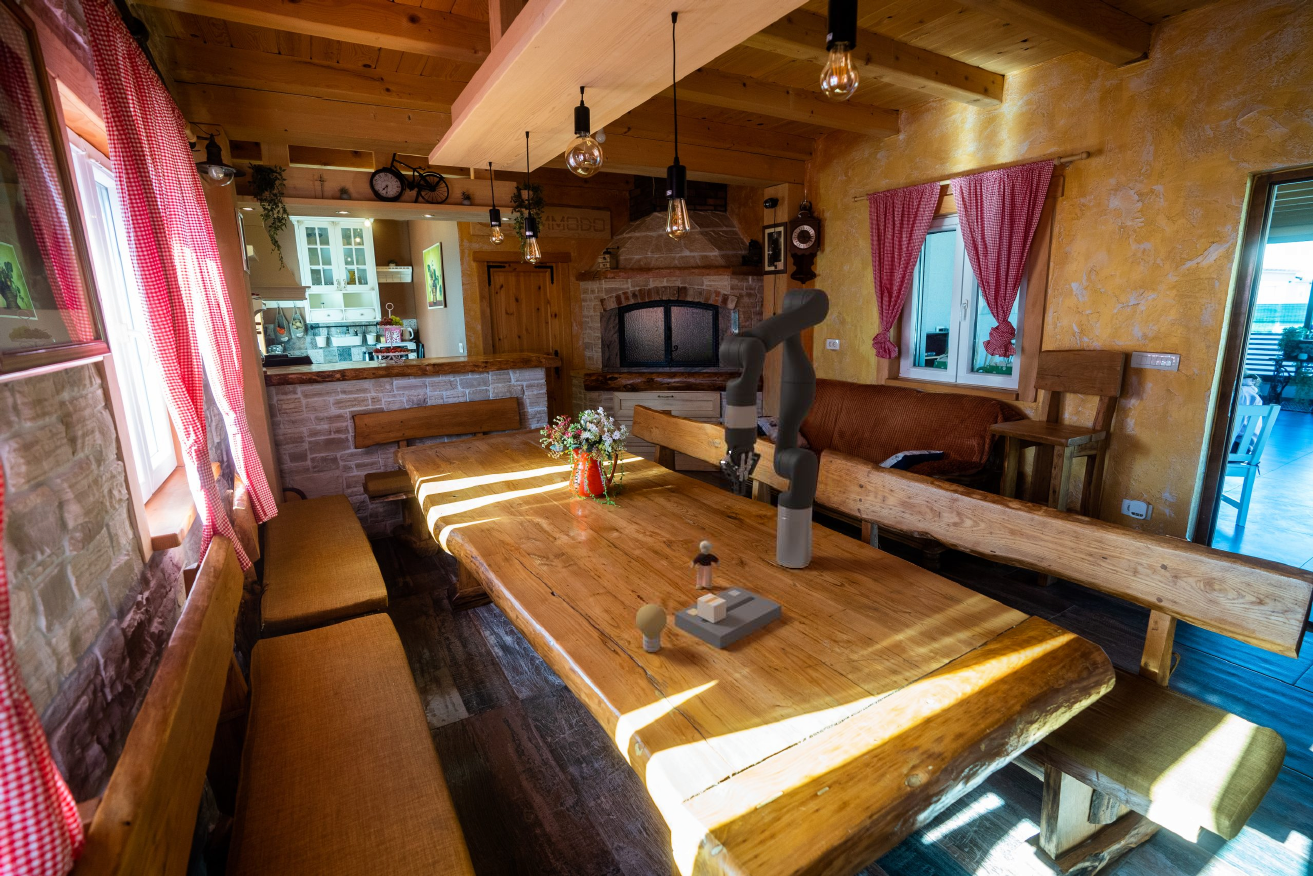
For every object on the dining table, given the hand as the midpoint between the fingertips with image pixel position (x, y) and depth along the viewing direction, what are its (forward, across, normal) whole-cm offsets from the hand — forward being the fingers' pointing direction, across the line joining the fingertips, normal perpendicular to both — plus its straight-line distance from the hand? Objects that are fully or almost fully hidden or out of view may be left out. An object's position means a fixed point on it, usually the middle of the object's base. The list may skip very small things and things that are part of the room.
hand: (739, 494), depth 150 cm
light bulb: (+27, +31, +3) cm, 41 cm away
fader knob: (+24, +16, +6) cm, 29 cm away
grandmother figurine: (+27, +1, -10) cm, 29 cm away
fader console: (+27, +10, +6) cm, 29 cm away
